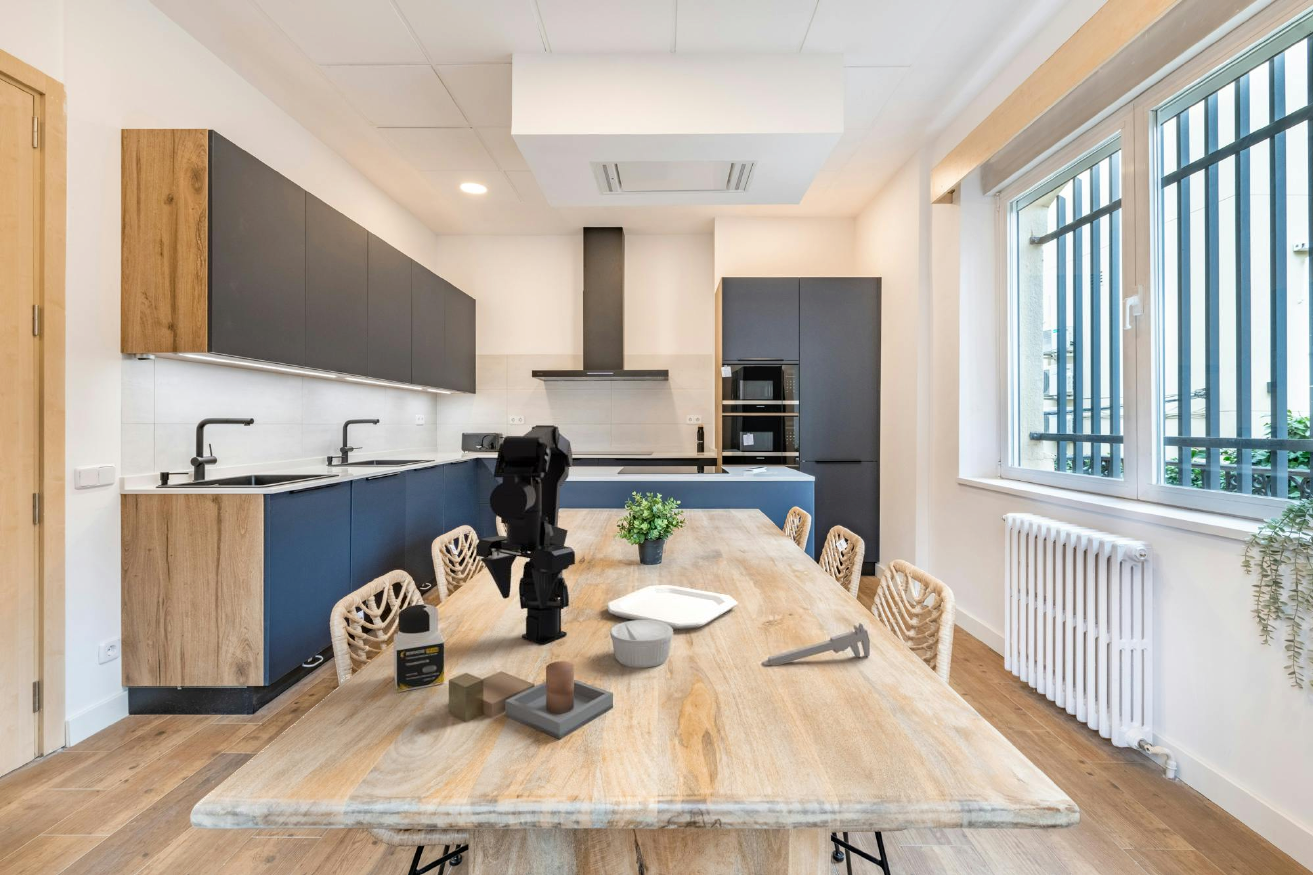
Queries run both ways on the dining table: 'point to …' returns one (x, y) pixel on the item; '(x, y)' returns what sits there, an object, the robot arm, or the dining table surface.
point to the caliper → (826, 647)
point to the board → (501, 691)
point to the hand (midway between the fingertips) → (524, 602)
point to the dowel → (559, 687)
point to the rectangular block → (466, 697)
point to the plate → (672, 606)
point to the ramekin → (641, 643)
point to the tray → (534, 714)
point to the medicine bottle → (418, 649)
